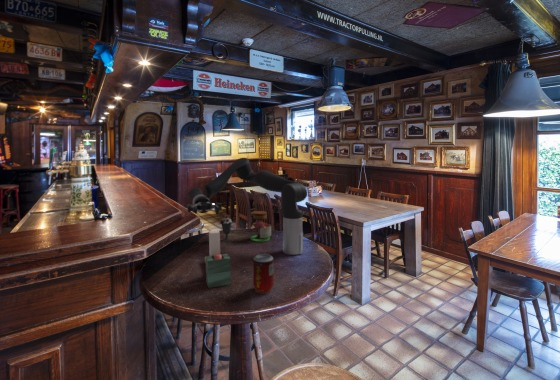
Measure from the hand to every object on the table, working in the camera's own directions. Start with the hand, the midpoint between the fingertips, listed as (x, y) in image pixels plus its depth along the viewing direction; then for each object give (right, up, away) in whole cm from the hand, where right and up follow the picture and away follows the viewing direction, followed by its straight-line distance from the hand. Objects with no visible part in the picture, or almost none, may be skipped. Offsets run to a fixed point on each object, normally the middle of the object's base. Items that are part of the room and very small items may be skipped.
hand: (206, 210), depth 124 cm
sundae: (+1, -19, +39) cm, 43 cm away
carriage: (+5, -25, -8) cm, 27 cm away
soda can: (+24, -27, -18) cm, 41 cm away
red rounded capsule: (+7, -20, -14) cm, 26 cm away
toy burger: (+19, -19, +41) cm, 49 cm away
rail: (+4, -25, -4) cm, 25 cm away
